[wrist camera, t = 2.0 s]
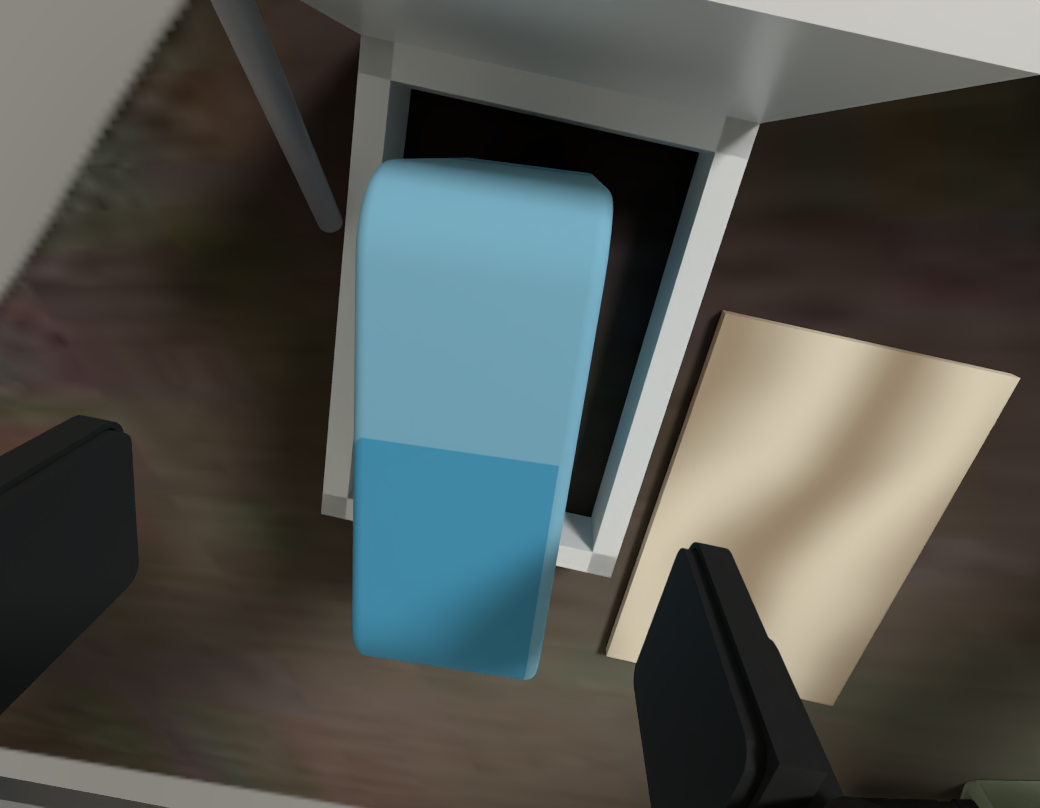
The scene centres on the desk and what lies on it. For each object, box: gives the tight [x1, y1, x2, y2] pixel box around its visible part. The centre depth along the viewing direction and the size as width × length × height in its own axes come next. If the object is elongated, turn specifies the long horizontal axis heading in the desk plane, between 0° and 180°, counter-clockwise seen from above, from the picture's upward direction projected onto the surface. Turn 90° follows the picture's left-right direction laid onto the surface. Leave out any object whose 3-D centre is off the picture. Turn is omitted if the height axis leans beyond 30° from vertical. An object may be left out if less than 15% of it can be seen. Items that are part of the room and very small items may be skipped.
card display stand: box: [211, 0, 1040, 577], centre depth 17 cm, size 13×18×14 cm
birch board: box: [606, 310, 1020, 706], centre depth 25 cm, size 11×17×1 cm, turn 168°
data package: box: [352, 158, 613, 680], centre depth 18 cm, size 12×4×12 cm, turn 173°
